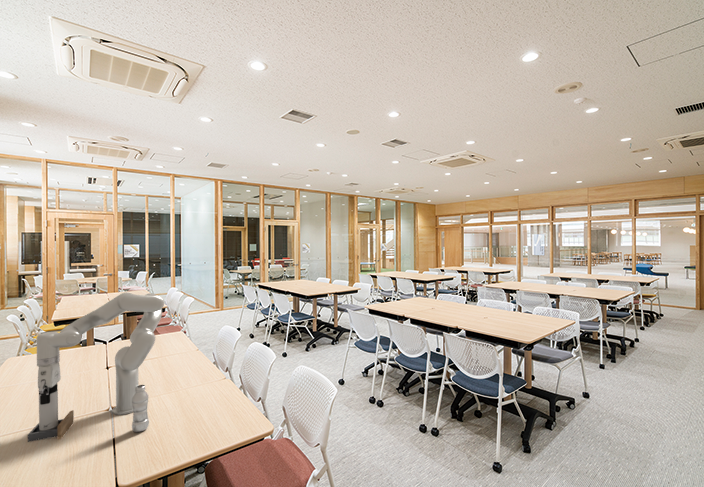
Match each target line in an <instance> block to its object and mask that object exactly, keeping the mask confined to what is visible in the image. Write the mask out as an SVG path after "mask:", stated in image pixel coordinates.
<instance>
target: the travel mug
mask: <svg viewBox="0 0 704 487" xmlns="http://www.w3.org/2000/svg"><path fill="white" fill-rule="evenodd" d="M46 387H47V386H45V387H44V388H46ZM44 390H46V392H47V389H44ZM58 391H59V388H58V383H57V384H56V385H54V386H53V387H52V388H50V390H49V394H50V403H49V404H43V405H41V404H40V393H39V392H38V421H39V422H38V423H39V432H40V431H46V430H52V429H56V428H57V427H58V420H59V395H58V394H59V393H58Z"/></svg>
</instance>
